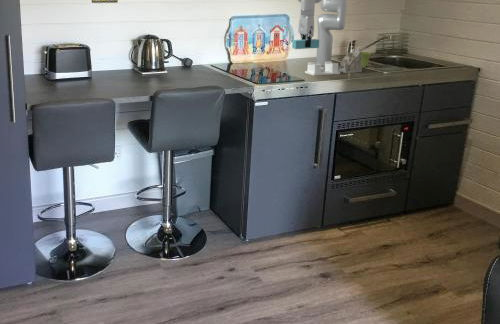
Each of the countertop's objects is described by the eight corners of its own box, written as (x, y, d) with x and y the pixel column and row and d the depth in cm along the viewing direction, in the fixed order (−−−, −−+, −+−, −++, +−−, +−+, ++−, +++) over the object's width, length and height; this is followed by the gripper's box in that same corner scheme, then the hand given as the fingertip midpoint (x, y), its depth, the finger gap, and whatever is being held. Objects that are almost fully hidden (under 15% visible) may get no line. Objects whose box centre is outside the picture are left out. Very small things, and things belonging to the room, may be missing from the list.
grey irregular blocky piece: (352, 67, 360) (353, 43, 355) (366, 73, 346) (368, 48, 340) (330, 70, 355) (331, 45, 350) (343, 75, 341) (345, 50, 335)
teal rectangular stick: (292, 48, 323) (292, 39, 321) (315, 46, 329) (315, 38, 327) (295, 49, 319) (296, 40, 318) (318, 47, 325) (319, 39, 324)
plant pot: (351, 65, 368) (352, 52, 365) (364, 65, 371) (365, 51, 368) (359, 68, 360) (360, 54, 357) (372, 67, 363) (373, 53, 360)
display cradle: (304, 72, 339) (305, 62, 337) (330, 71, 347) (331, 61, 345) (313, 75, 331) (314, 65, 329) (340, 73, 338) (340, 63, 336)
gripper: (294, 12, 323) (292, 44, 329) (309, 14, 309) (307, 49, 315) (305, 11, 326) (304, 44, 332) (321, 14, 312) (319, 48, 318)
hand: (305, 46), depth 324 cm, fingers closed on teal rectangular stick, 4 cm apart
